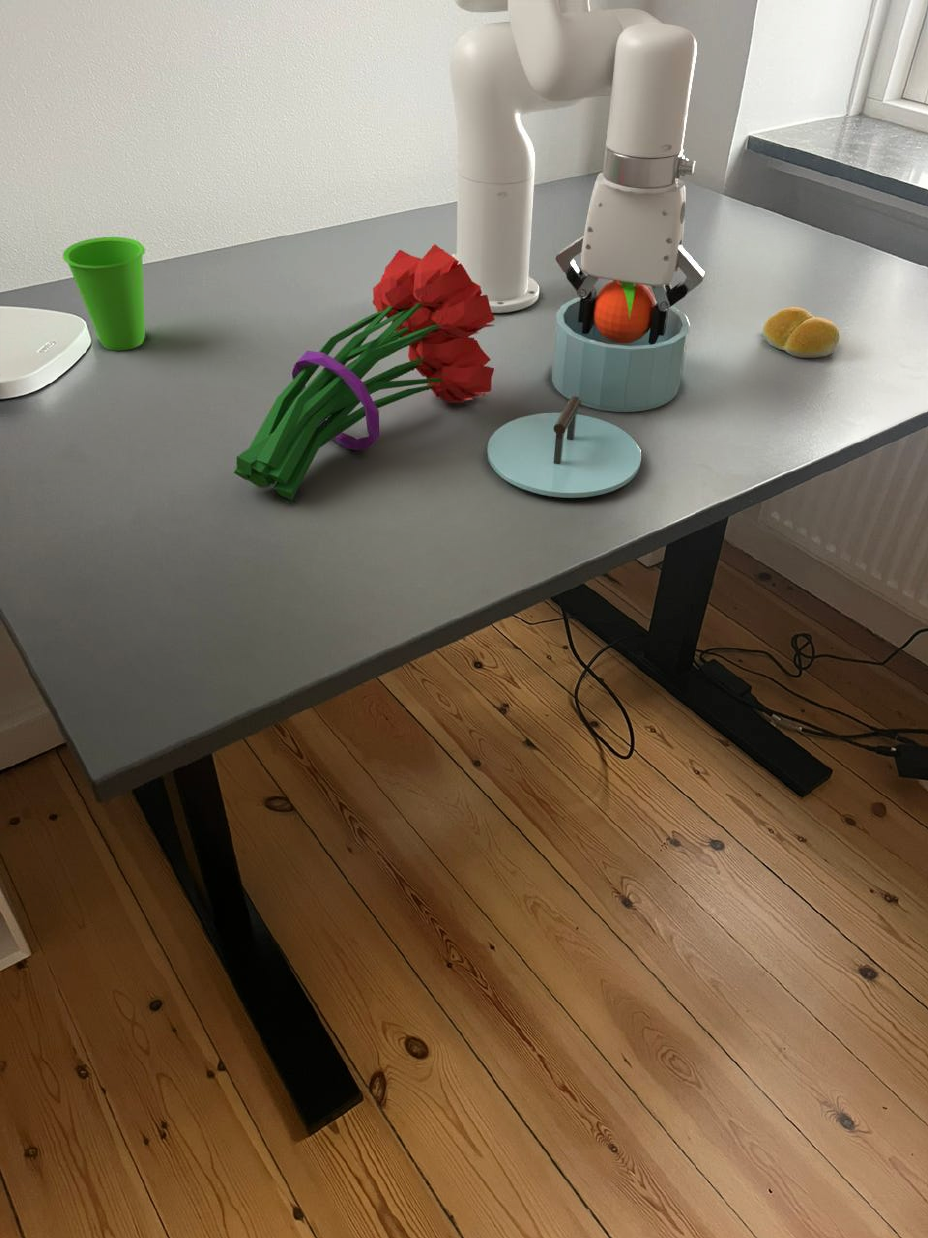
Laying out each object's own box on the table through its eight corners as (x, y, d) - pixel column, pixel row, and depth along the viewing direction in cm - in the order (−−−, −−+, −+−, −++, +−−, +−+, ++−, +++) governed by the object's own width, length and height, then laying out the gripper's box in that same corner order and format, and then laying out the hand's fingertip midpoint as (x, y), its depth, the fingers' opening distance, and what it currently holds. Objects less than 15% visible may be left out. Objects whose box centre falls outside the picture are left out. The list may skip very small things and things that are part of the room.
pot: (536, 398, 113) (540, 335, 108) (570, 344, 124) (575, 284, 119) (665, 422, 110) (675, 358, 105) (688, 364, 120) (699, 303, 116)
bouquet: (225, 518, 105) (407, 363, 119) (340, 581, 98) (521, 407, 111) (159, 362, 90) (377, 203, 104) (290, 421, 82) (506, 242, 96)
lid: (465, 484, 100) (467, 432, 96) (513, 411, 111) (515, 362, 107) (620, 516, 96) (628, 464, 92) (653, 438, 107) (661, 388, 103)
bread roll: (811, 366, 120) (820, 335, 118) (750, 340, 126) (757, 310, 123) (851, 347, 125) (859, 316, 122) (790, 323, 130) (797, 292, 127)
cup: (176, 341, 123) (160, 250, 115) (110, 365, 117) (89, 272, 110) (134, 319, 127) (116, 230, 120) (69, 341, 122) (46, 250, 115)
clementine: (656, 359, 111) (666, 295, 106) (593, 358, 111) (599, 294, 106) (647, 327, 117) (655, 267, 112) (587, 326, 117) (593, 265, 112)
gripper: (733, 166, 102) (703, 333, 114) (567, 147, 106) (554, 309, 118) (722, 189, 97) (692, 361, 108) (547, 167, 101) (536, 335, 113)
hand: (620, 333), depth 113 cm, fingers closed on clementine, 6 cm apart
